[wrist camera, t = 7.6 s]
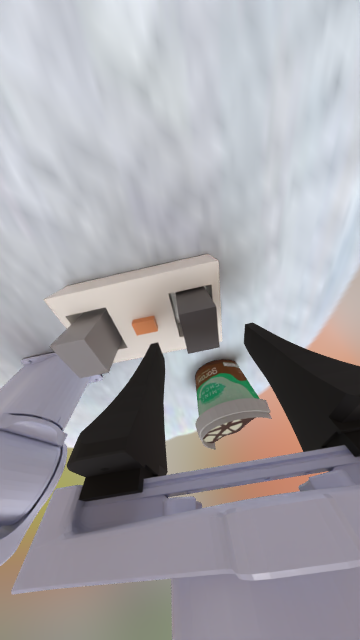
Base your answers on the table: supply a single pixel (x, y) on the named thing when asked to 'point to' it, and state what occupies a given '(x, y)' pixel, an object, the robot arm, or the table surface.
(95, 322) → the charcoal plug
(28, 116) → the table surface
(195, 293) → the dark grey square prism
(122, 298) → the power strip
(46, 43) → the table surface
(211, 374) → the food container
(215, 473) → the robot arm
